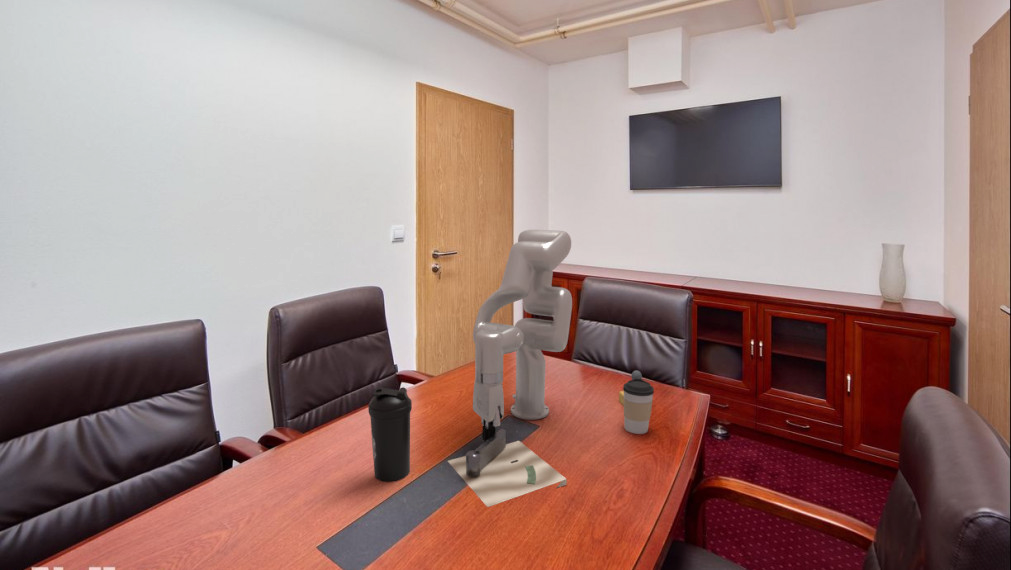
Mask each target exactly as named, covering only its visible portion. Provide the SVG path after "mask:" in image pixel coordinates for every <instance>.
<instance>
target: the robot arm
mask: <svg viewBox="0 0 1011 570" xmlns="http://www.w3.org/2000/svg"><path fill="white" fill-rule="evenodd" d="M571 248H572V239H571V236H570V234H569V233H568V232H566V231H564V230H550V229H548V230H547V229H527V230H522V231H521V232H520V233H519V234H518V238H517V242H515V243H513V244H512V246H511V247H510V251H509V253H508V258H507V262H506V266H505V268H504V273H503V277H502V280H501V283H500V284H501V285H500V286H499V288H497V290H495V291H494V292H493V293H492V294H491V295H489V296H488V298H487V299H486V300H485V301H484V302H483V303H482V305H481V306H480V307H479V309H478V313H477V315H476V319H475V323H474V326H473V331H472V339H473V340H472V341H473V343H474V345H475V347H474V348H475V349H474V355H475V356H474V357H475V358H474V359H475V360H474V368H475V369H474V373H475V374H474V375H475V376H474V383H473V393H472V411H474V413H475V414H477V415H478V416H479V417H480V420H481V425H482V427H481V429H482V430H481V432H482V437H481V438H482V440H483V441H484V442H485V441H487V440H488V439H489V438H490V437H492V436H493V435H494V434H495V433H496V428H497V427H499V426H501V420H503V419H504V414H505V401H504V400H505V398H504V390H503V389H504V388H503V387H504V386H503V383H504V355H507V354H512V353H514V352H515V355H516V356H515V357H516V358H515V360H516V362H515V393H514V394H512V398H513V399H514V404H512V405H511V406H510V412H511V414H512V415H513V417H516V418H518V419H521V420H528V421H533V420H540V419H544V418H545V417H546V418H547V416H548V415H549V413H550V408H549V406H547V405H546V404H545V393H546V390H545V389H546V359H545V355H544V353H543V352H542V351H546V352H553V353H558V352H559V353H560V352H563V351H565V349H566V348H567V344H568V340H569V335H570V334H569V333H570V326H571V318H572V311H573V310H572V309H573V297H572V293H571V291H570V290H569V289H567V288H565V287H560V286H553V285H552V282H553V275H554V273H553V272H554V270H555V269H557V267H559V266H560V265H561V263H562V262H563V261H564V260H565V259H566V258H567V256H568V255H569V254H570V251H571ZM521 300H522V308H523V310H524V312H525V313H528V314H531V315H537V316H544V317H552V319H553V320H547V319H542V318H532V317H531V318H530V317H525V318H521V319H519V320H518V321H516V322H515V325H511V324H503V323H497V322H492V319H493V318H494V316H495V314H496V313H497V312H498V311H499V310H500V309H501V308H503V307H506V306H508V305H511V304H513V303H514V302H518V301H521Z"/></svg>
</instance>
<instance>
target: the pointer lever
mask: <svg viewBox="0 0 1011 570" xmlns="http://www.w3.org/2000/svg"><path fill="white" fill-rule="evenodd" d="M506 432H507V430H506V429H503V428H500V429H499V430H498V431H496V432H495V434H494V435H493V436H492V437H490V438H489V439H488V440H487V441H484V442H483V443H481V444H480V445H479V446H478V447H476V448H475V449H474V450H473V449H472V450H469V451H466V452H465V456H466V475H468V476H470V477H476V476H478V475H480V473H481V469H482V468H483V467H484V466H485V465H486V464H487V463H488V462H489V461H491V460H492V459H493V458H494V457H495V456H496V455H497V454H499V453H500V452H501V451H502V450H503V449H504V448H505V447H506V444H507V438H506V437H507V433H506Z"/></svg>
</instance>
